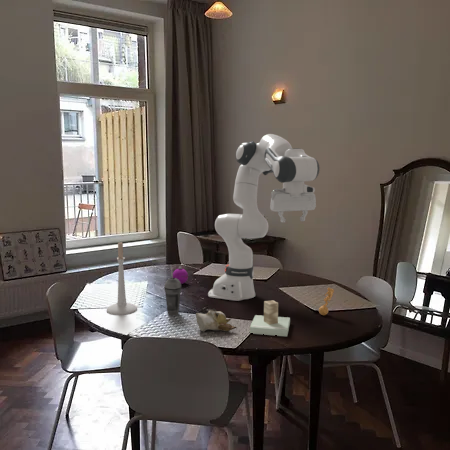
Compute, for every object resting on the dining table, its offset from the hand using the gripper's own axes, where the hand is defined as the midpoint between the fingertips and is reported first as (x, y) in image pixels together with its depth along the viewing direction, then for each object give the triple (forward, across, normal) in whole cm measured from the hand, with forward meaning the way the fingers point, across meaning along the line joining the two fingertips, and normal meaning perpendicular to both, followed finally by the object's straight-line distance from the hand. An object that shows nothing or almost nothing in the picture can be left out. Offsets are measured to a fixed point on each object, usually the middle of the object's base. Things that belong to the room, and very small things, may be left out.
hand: (292, 221), depth 201 cm
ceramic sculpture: (+40, -38, -6) cm, 55 cm away
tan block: (+37, -17, -13) cm, 43 cm away
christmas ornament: (+39, -29, +61) cm, 78 cm away
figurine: (+40, +12, -8) cm, 42 cm away
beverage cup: (+39, -47, +17) cm, 64 cm away
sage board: (+39, -17, -13) cm, 45 cm away
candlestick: (+39, -66, +31) cm, 82 cm away
